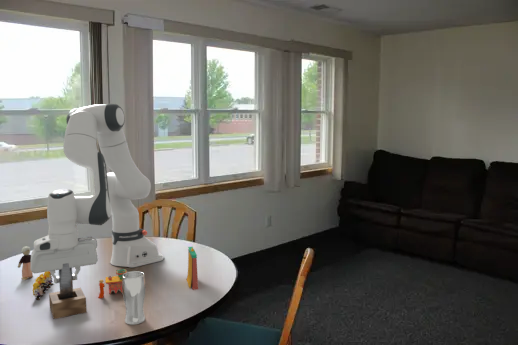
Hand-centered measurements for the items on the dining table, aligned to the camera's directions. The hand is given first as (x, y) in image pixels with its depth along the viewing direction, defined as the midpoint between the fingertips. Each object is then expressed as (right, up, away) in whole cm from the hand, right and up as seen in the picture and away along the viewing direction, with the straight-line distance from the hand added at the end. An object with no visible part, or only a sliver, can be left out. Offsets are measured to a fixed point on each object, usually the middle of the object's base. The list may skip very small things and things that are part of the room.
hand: (65, 281), depth 154 cm
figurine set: (-15, -8, +17) cm, 24 cm away
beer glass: (+24, -11, -6) cm, 28 cm away
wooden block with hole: (0, -10, +1) cm, 10 cm away
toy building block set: (+22, -8, +20) cm, 31 cm away
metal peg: (0, -7, +1) cm, 8 cm away
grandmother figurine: (-28, -6, +31) cm, 42 cm away
